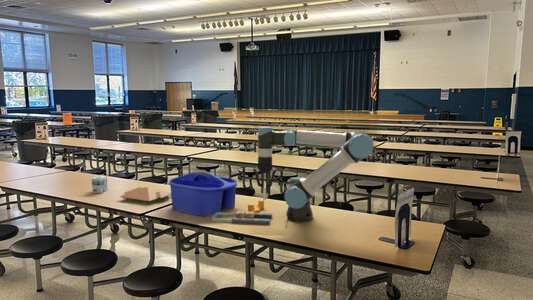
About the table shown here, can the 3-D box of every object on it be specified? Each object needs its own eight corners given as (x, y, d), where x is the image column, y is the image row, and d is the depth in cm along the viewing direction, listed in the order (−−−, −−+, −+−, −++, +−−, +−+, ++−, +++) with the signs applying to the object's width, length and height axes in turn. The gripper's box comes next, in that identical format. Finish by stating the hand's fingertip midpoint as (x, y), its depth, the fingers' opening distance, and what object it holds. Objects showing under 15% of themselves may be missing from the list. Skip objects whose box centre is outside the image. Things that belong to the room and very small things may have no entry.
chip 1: (245, 218, 207) (245, 211, 206) (243, 220, 203) (243, 213, 202) (238, 217, 207) (238, 210, 207) (236, 220, 204) (236, 213, 203)
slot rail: (272, 219, 210) (272, 213, 209) (269, 227, 197) (269, 220, 196) (237, 217, 212) (237, 211, 212) (232, 225, 200) (232, 219, 199)
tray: (236, 217, 212) (236, 212, 212) (231, 224, 201) (231, 219, 200) (216, 216, 214) (216, 211, 213) (210, 223, 202) (210, 218, 202)
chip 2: (254, 218, 206) (254, 211, 206) (252, 221, 202) (252, 213, 202) (247, 218, 207) (246, 211, 206) (245, 220, 203) (245, 213, 202)
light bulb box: (101, 193, 266) (100, 178, 264) (92, 193, 266) (91, 178, 264) (108, 189, 276) (107, 175, 275) (99, 189, 276) (98, 175, 275)
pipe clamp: (253, 216, 215) (253, 205, 214) (248, 215, 218) (247, 204, 217) (266, 211, 224) (266, 201, 224) (260, 210, 227) (260, 199, 226)
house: (153, 206, 235) (152, 193, 234) (114, 200, 249) (113, 188, 248) (176, 197, 256) (175, 186, 255) (139, 192, 270) (138, 181, 269)
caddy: (193, 197, 257) (192, 163, 253) (247, 206, 234) (247, 170, 230) (158, 208, 230) (157, 171, 226) (216, 221, 207) (215, 179, 204)
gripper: (278, 155, 201) (277, 197, 205) (254, 154, 203) (254, 196, 206) (276, 157, 194) (276, 201, 197) (251, 156, 196) (251, 200, 199)
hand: (264, 199), depth 202 cm, fingers closed
